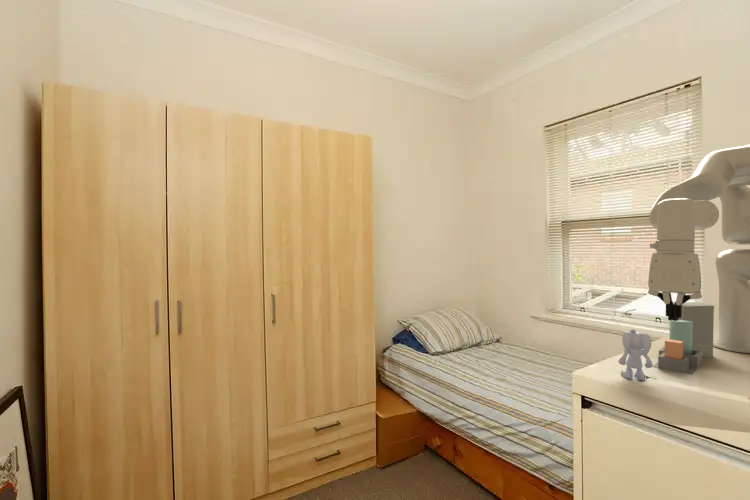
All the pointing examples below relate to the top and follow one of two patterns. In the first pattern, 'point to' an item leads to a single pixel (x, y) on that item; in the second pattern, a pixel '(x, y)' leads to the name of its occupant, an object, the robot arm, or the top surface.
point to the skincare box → (700, 325)
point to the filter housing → (680, 362)
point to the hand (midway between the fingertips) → (673, 319)
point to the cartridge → (682, 334)
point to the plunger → (674, 349)
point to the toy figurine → (635, 353)
